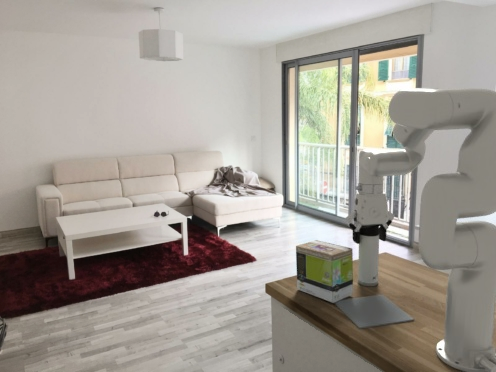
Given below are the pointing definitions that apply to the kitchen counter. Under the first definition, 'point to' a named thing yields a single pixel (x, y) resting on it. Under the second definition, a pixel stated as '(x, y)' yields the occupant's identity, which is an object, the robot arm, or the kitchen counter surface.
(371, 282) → the travel mug
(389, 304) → the mat
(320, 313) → the kitchen counter surface
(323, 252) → the tea box
